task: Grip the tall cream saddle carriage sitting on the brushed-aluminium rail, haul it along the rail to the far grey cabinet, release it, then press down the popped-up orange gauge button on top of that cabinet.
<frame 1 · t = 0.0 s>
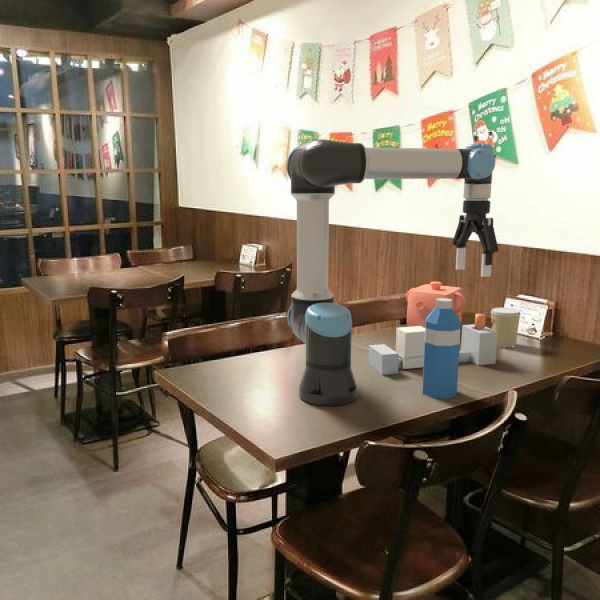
hand: (472, 272, 174), 28 cm above the table, fingers open, 13 cm apart
far cabinet: (477, 359, 184), on the table
gauge button: (480, 321, 181), point 12 cm above the table, slide at 0.0 cm
rail: (429, 364, 179), on the table
coffee cup: (503, 345, 200), on the table
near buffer: (382, 368, 175), on the table
carriage: (412, 347, 176), point 6 cm above the table, slide at 0.0 cm
teapot: (430, 331, 217), on the table
water bottle: (439, 392, 156), on the table
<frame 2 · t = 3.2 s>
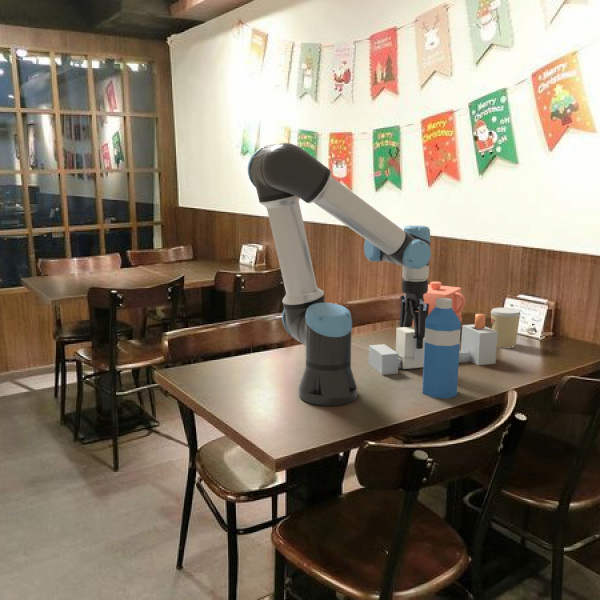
hand: (412, 355, 177), 3 cm above the table, fingers closed on carriage, 6 cm apart
carriage: (412, 347, 176), point 6 cm above the table, slide at 0.0 cm, touching gripper
everything else where it was.
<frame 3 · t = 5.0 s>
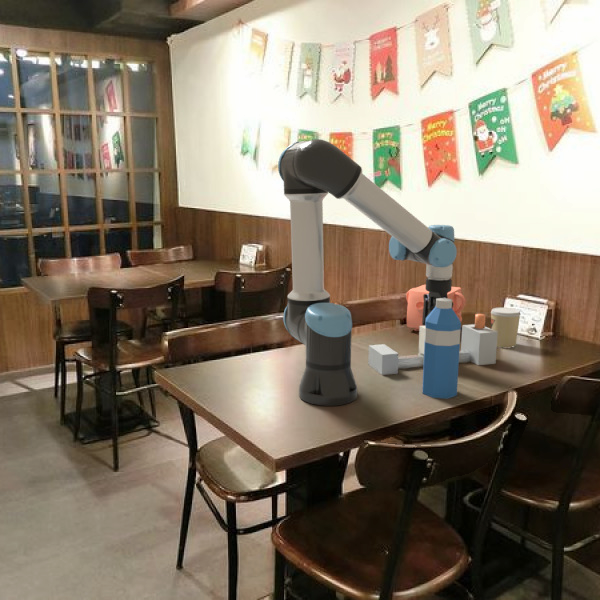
hand: (435, 353, 179), 3 cm above the table, fingers closed on carriage, 6 cm apart
carriage: (435, 345, 179), point 6 cm above the table, slide at 7.7 cm, touching gripper
everything else where it was.
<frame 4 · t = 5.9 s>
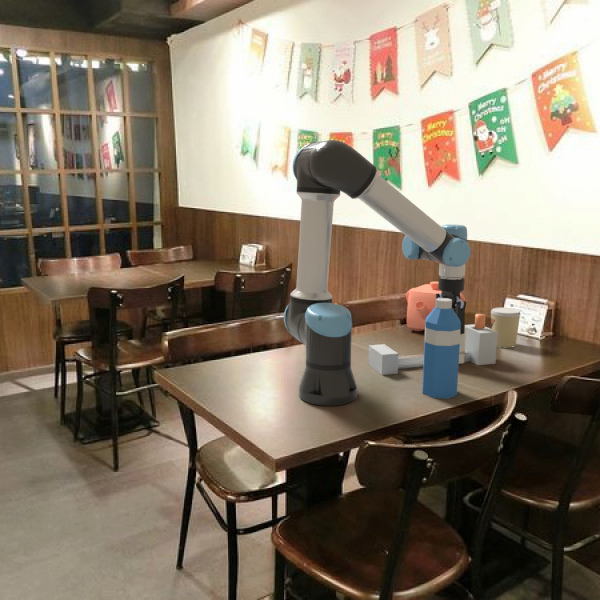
hand: (447, 351, 180), 3 cm above the table, fingers closed on carriage, 6 cm apart
carriage: (448, 344, 180), point 6 cm above the table, slide at 11.9 cm, touching gripper
everything else where it was.
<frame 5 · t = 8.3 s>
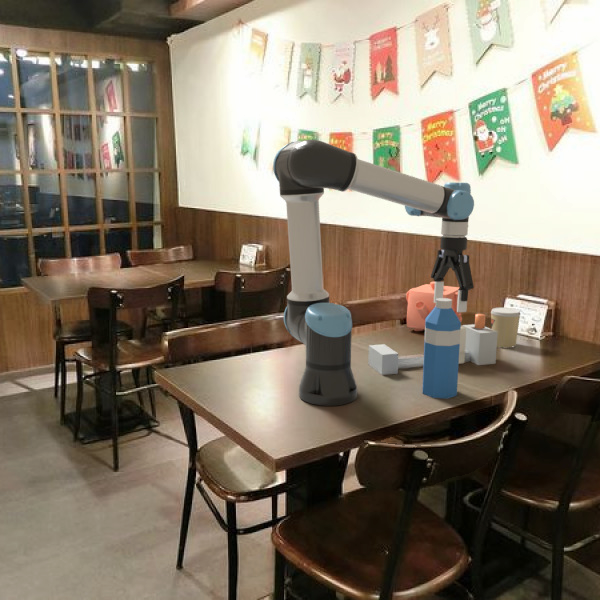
hand: (449, 307, 177), 17 cm above the table, fingers open, 13 cm apart
carriage: (448, 343, 180), point 6 cm above the table, slide at 12.0 cm
everything else where it was.
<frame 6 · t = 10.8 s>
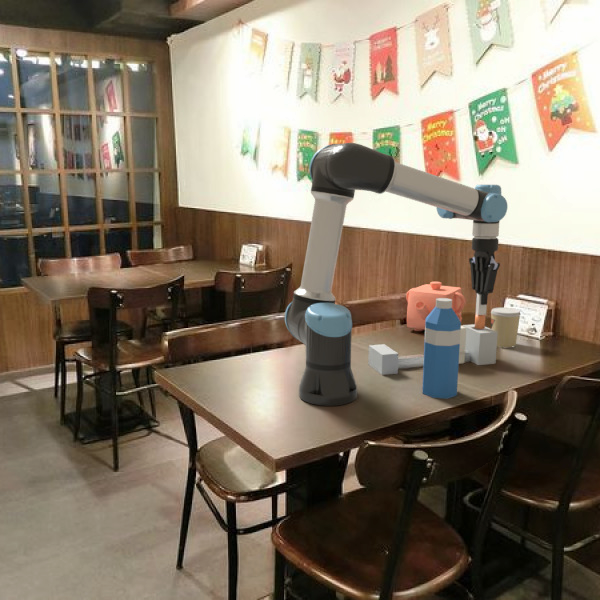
hand: (480, 314, 181), 14 cm above the table, fingers closed
gauge button: (480, 321, 181), point 12 cm above the table, slide at 0.1 cm, touching gripper
everything else where it was.
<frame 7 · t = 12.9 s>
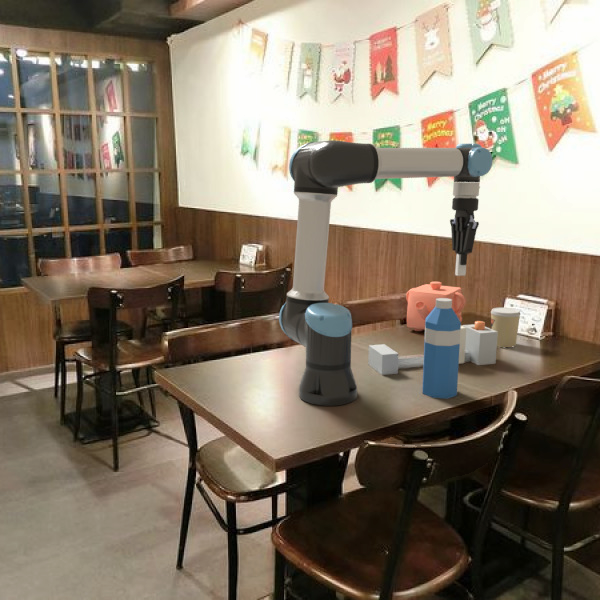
hand: (460, 275, 181), 26 cm above the table, fingers closed
gauge button: (479, 328, 182), point 10 cm above the table, slide at 2.3 cm
everything else where it was.
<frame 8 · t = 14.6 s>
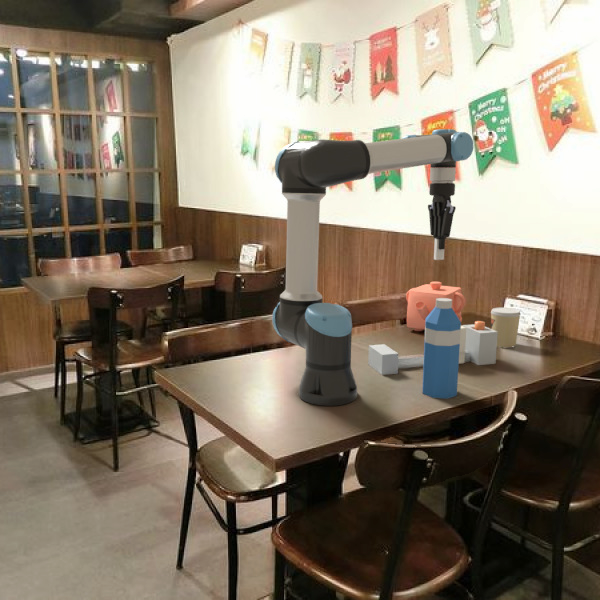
hand: (438, 259, 184), 30 cm above the table, fingers closed
nothing on the table moved.
at the end: carriage slide at 12.0 cm; gauge button slide at 2.3 cm; the gripper is holding nothing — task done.
